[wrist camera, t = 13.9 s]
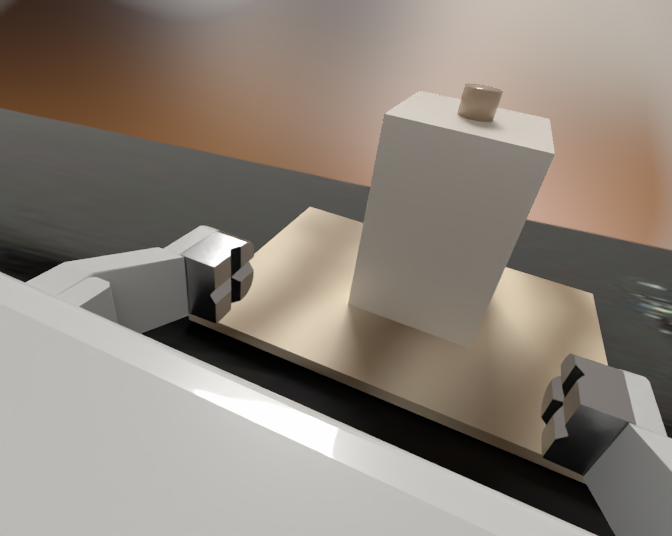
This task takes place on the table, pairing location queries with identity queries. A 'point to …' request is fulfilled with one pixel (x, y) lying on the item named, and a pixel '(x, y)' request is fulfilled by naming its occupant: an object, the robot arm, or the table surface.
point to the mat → (415, 338)
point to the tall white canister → (447, 209)
